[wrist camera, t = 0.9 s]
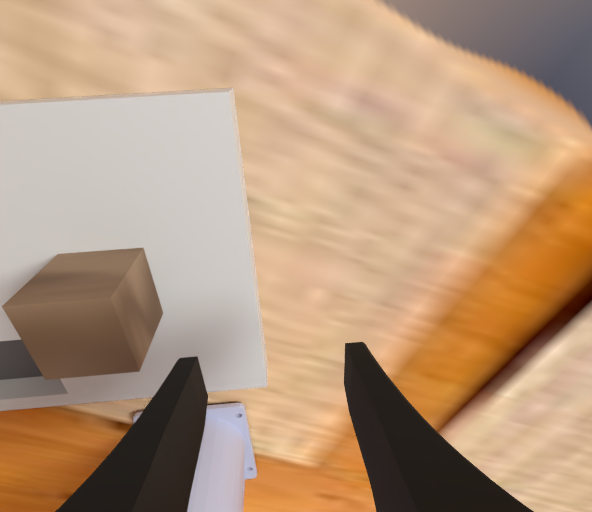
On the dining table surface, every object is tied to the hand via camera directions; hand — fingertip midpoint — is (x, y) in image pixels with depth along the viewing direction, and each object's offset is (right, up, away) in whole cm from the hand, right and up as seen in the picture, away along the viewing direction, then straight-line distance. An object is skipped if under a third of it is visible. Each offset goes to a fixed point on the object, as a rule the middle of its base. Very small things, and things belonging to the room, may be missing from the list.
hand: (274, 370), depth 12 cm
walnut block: (-8, +3, +5) cm, 10 cm away
